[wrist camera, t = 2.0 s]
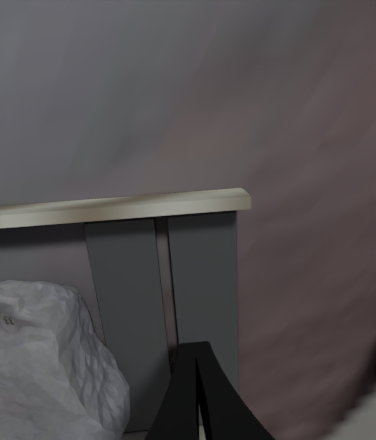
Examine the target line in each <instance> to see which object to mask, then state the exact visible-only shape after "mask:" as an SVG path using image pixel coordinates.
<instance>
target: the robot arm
mask: <svg viewBox="0 0 376 440" xmlns="http://www.w3.org/2000/svg"><path fill="white" fill-rule="evenodd" d="M199 406H200V412H201V417H202V423H203V428H204V433H205V439H206V440H275V439H274V438H273V437H272V436H271V434H270V433H269V432H268V431H267V430H266V429H265V428H264V427H263V426H262V424H261V423H260V422H259V421H258V420H257V419H256V417H255V416H254V415H253V414H252V412H251V411H250V410H249V409H248V407H247V406H246V405H245V403H244V402H243V401H242V399H241V398H240V396H239V395H238V393H237V392H236V390H235V389H234V388H233V386H232V384H231V383H230V381H229V380H228V378H227V376H226V375H225V373H224V371H223V370H222V368H221V366H220V364H219V362H218V360H217V358H216V356H215V354H214V352H213V350H212V347H211V344H210V342H208V341H201V342H191V343H180V344H179V345H178V351H177V357H176V362H175V366H174V369H173V373H172V376H171V379H170V382H169V385H168V388H167V391H166V393H165V396H164V398H163V401H162V404H161V406H160V408H159V411H158V413H157V415H156V417H155V419H154V421H153V424H152V426H151V428H150V430H149V431H148V433H147V435H146V437H145V439H144V440H199Z"/></svg>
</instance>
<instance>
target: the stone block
mask: <svg viewBox="0 0 376 440" xmlns="http://www.w3.org/2000/svg"><path fill="white" fill-rule="evenodd" d="M129 419H130V387H129V385H128V383H127V381H126V379H125V377H124V375H123V373H122V372H121V371H120V370H119V369H118V365H117V362H116V359H115V357H114V356H113V354H112V353H111V352H110V350H109V349H108V348H107V347H106V346H105V345H104V344H103V343H102V342H101V341H100V339H99V338H98V336H97V334H96V333H95V331H94V327H93V324H92V321H91V318H90V315H89V312H88V309H87V306H86V305H85V303H84V301H83V299H82V297H81V295H80V294H79V292H78V291H77V290H76V288H75V287H71V286H68V285H62V284H55V283H50V282H45V281H21V280H10V279H9V280H6V281H2V282H0V440H121V437H122V435H123V432H124V430H125V428H126V426H127V424H128V422H129Z"/></svg>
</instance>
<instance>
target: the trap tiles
mask: <svg viewBox="0 0 376 440" xmlns="http://www.w3.org/2000/svg"><path fill="white" fill-rule="evenodd" d="M167 220H168V231H169V241H170V252H171V263H172V274H173V285H174V295H175V306H176V317H177V328H178V339H179V344H180V343H191V342H201V341H208V342H210V344H211V347H212V350H213V352H214V354H215V356H216V358H217V360H218V362H219V364H220V366H221V368H222V370H223V371H224V373H225V375H226V376H227V378H228V380H229V381H230V383H231V384H232V386H233V388H234V389H235V390H236V392H237V393H238V395H239V378H238V300H237V223H236V211H223V212H210V213H197V214H185V215H172V216H167ZM83 226H84V232H85V237H86V242H87V247H88V253H89V258H90V263H91V268H92V274H93V279H94V284H95V289H96V294H97V300H98V305H99V310H100V315H101V321H102V326H103V331H104V336H105V342H106V347H107V348H108V349H109V350H110V352H111V353H112V354H113V356H114V357H115V359H116V362H117V365H118V369H119V370H120V371H121V372H122V373H123V375H124V377H125V379H126V381H127V383H128V385H129V387H130V419H129V422H128V424H127V426H126V428H125V430H124V432H132V431H142V430H150V428H151V426H152V424H153V421H154V419H155V417H156V415H157V413H158V411H159V408H160V406H161V404H162V401H163V398H164V396H165V393H166V391H167V388H168V385H169V382H170V379H171V371H170V362H169V353H168V343H167V334H166V325H165V316H164V306H163V297H162V288H161V279H160V269H159V260H158V251H157V242H156V232H155V223H154V217H146V218H133V219H120V220H108V221H95V222H85V223H84V224H83ZM202 424H203V423H202V417H201V412H200V406H199V425H202Z"/></svg>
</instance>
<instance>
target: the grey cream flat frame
mask: <svg viewBox="0 0 376 440" xmlns="http://www.w3.org/2000/svg"><path fill="white" fill-rule="evenodd" d="M243 209H251V196H250V195H249V194H248V193H247V192H246V191H245V190H243V189H242V188H234V189H220V190H207V191H194V192H181V193H168V194H154V195H141V196H128V197H115V198H101V199H88V200H75V201H62V202H48V203H35V204H22V205H9V206H0V228H12V227H25V226H38V225H51V224H64V223H76V222H89V221H102V220H115V219H128V218H141V217H153V216H166V215H179V214H192V213H205V212H218V211H231V210H243ZM147 433H148V431H143V432H133V433H123V435H122V437H121V440H144V439H145V437H146V435H147ZM199 440H206V439H205V433H204V428H203V426H199Z"/></svg>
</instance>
